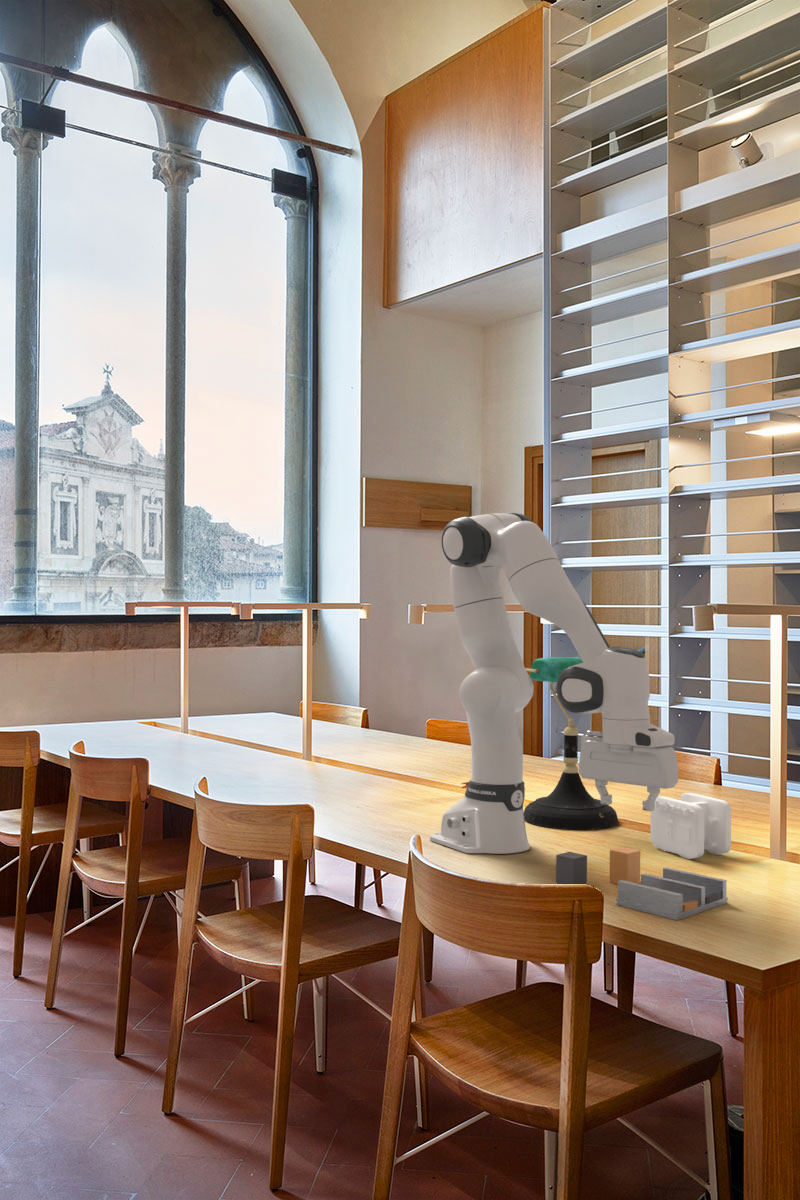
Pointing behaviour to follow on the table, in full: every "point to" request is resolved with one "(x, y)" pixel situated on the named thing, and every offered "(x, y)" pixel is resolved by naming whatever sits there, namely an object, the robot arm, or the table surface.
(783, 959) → the table surface
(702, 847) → the cable organizer
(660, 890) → the gray divided tray
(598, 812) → the banker's lamp
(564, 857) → the dark gray block
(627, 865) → the orange block
